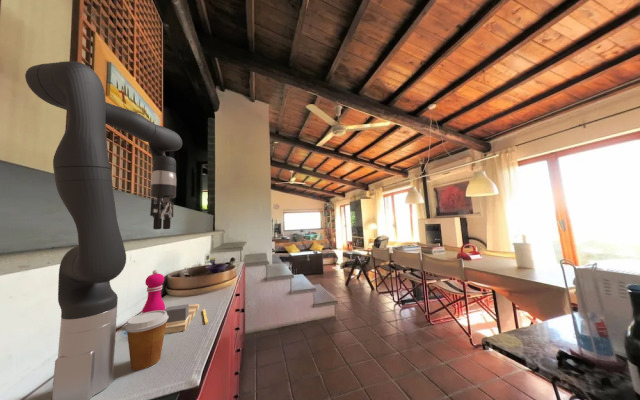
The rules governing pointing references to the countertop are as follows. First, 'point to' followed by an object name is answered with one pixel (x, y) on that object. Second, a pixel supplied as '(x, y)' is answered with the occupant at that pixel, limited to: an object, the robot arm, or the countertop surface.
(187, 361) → the countertop surface
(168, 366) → the countertop surface
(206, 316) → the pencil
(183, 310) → the sanding block
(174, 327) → the board
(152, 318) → the disposable coffee cup
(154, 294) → the pepper mill
